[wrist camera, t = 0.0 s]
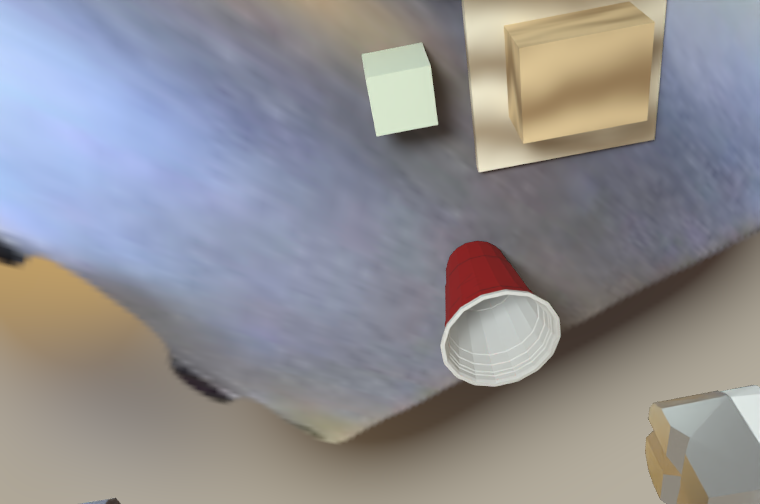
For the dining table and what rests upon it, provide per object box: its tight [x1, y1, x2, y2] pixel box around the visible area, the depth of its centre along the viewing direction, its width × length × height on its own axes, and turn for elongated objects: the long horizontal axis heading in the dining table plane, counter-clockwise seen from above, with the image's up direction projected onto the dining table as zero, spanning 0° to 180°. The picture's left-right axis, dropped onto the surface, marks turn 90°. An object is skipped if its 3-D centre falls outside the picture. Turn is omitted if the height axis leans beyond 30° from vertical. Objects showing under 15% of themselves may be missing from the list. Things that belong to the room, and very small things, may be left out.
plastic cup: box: [440, 241, 561, 386], centre depth 65 cm, size 11×11×12 cm
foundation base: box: [462, 0, 667, 172], centre depth 55 cm, size 18×16×6 cm
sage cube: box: [362, 43, 438, 136], centre depth 55 cm, size 5×5×5 cm
